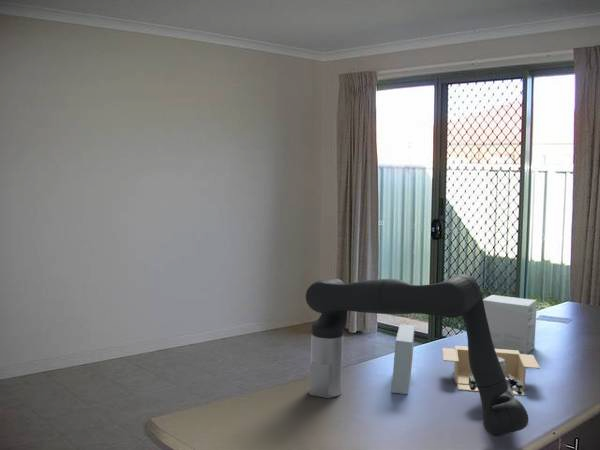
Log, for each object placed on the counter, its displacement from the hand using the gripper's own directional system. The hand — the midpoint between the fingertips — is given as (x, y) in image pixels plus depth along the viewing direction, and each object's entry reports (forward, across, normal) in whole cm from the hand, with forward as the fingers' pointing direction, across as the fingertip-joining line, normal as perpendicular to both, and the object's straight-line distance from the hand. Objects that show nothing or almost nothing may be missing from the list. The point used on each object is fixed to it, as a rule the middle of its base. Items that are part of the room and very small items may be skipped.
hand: (493, 375), depth 195 cm
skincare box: (+7, +26, +7) cm, 28 cm away
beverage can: (0, 0, +7) cm, 7 cm away
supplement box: (+58, -10, +7) cm, 59 cm away
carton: (+16, 0, +7) cm, 17 cm away
